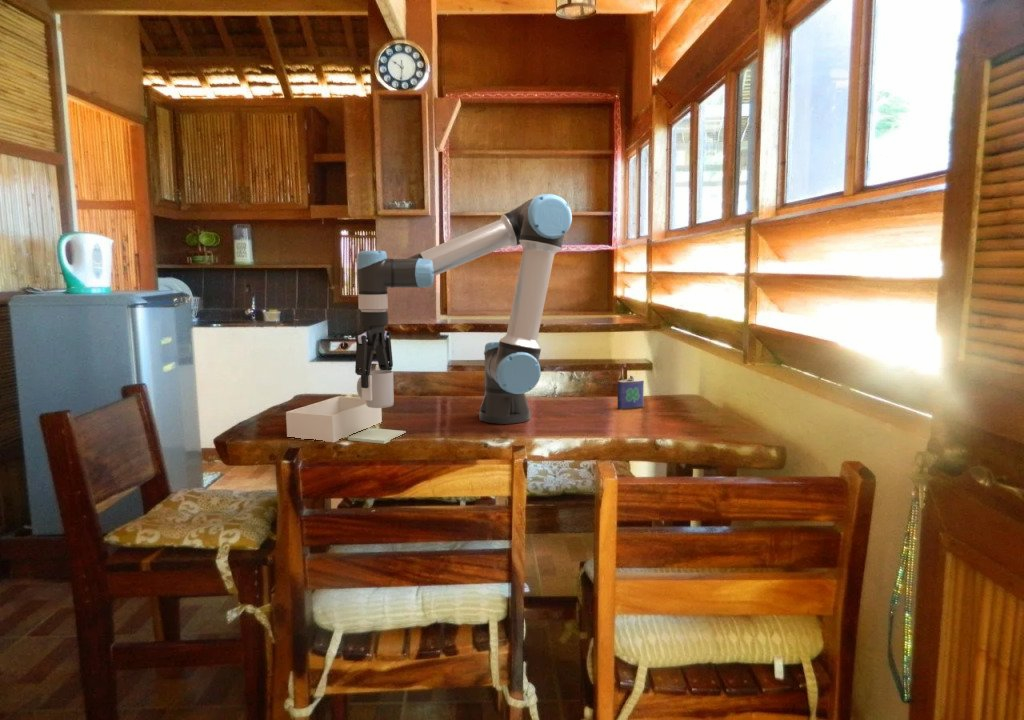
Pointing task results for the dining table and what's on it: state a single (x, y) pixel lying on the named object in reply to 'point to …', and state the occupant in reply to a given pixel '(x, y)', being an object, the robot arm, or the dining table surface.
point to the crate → (331, 419)
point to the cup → (380, 389)
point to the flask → (630, 393)
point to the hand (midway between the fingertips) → (375, 397)
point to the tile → (376, 435)
